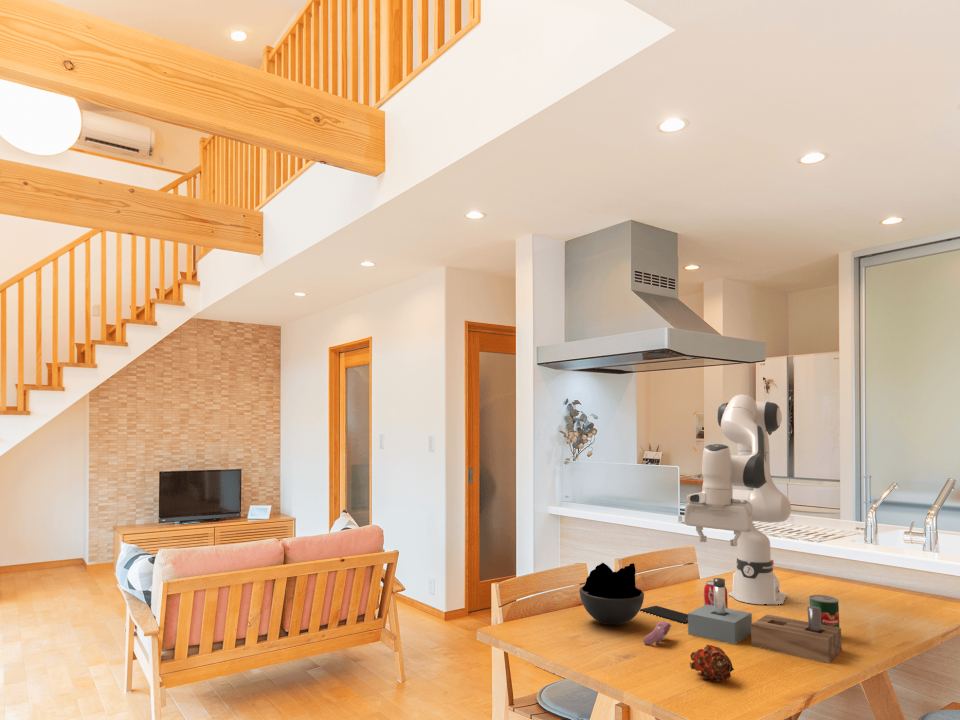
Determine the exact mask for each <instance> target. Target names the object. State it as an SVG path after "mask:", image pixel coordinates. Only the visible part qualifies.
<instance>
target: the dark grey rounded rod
mask: <svg viewBox="0 0 960 720" xmlns="http://www.w3.org/2000/svg"><path fill="white" fill-rule="evenodd" d="M807 622H808V630H809V631H811V632H816V633H821V609H820V608H819V607H814V606H810V605H809V606H807Z"/></svg>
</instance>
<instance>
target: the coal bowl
mask: <svg viewBox="0 0 960 720" xmlns="http://www.w3.org/2000/svg"><path fill="white" fill-rule="evenodd" d="M579 597H580V601H581V604H582V605H583V608H584V610H585V611H586V612H587V613H588V615H589V616H591V618H593V619H594V620H596V621H597V622H599V623H601V624H605V625H608V626H619V625H620V626H621V625H624V624H626V623H629V622H630V621H631V620H633V619H634V618H635V617H636V616H637V615H638V614H639V612H640V609H642V606H643V603H644V599H645V593H644V591H643V590H641V589H639V588H637V586H636V565H635V563H629V565H627V566H624V567H621V568H619V569H618V570H617V571H613V570H612V568H611V567H610V566H608V564H606V563H604V562H601V563H600V564H598V565H596V566H595V567H594V569H593V570H591V571H589V575H588V576H587V577H586V581H585V584H584V585H583V586H582V587H580V588H579Z"/></svg>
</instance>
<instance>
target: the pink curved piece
mask: <svg viewBox="0 0 960 720" xmlns="http://www.w3.org/2000/svg"><path fill="white" fill-rule="evenodd" d="M671 627H672V624H670V622H667V621H665V620H662V621H659V622H657V623H656V626H655V627H654V629H653V630H652V631H651V632H649V633H648V634H647V635H645V636H644V637H643V639H642V640H643V643H644V645H646V644H647V645H646V646H650V645H654V644H655V643H656V645H659V644H660V643H661V642H662V641H663V640H665V639H666V636H667V634H668V633H669V632H670V630H671Z"/></svg>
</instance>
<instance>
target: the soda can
mask: <svg viewBox="0 0 960 720" xmlns="http://www.w3.org/2000/svg"><path fill="white" fill-rule="evenodd" d="M703 589H704V590H703V600H704V601H703V606H704V605H706V604H707V605H713V606H714V584H713V580H707V581H706V582H705V585H704V588H703ZM727 589H728V588H727V587H726V586H725V608H728V590H727ZM728 609H729V608H728Z"/></svg>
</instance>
